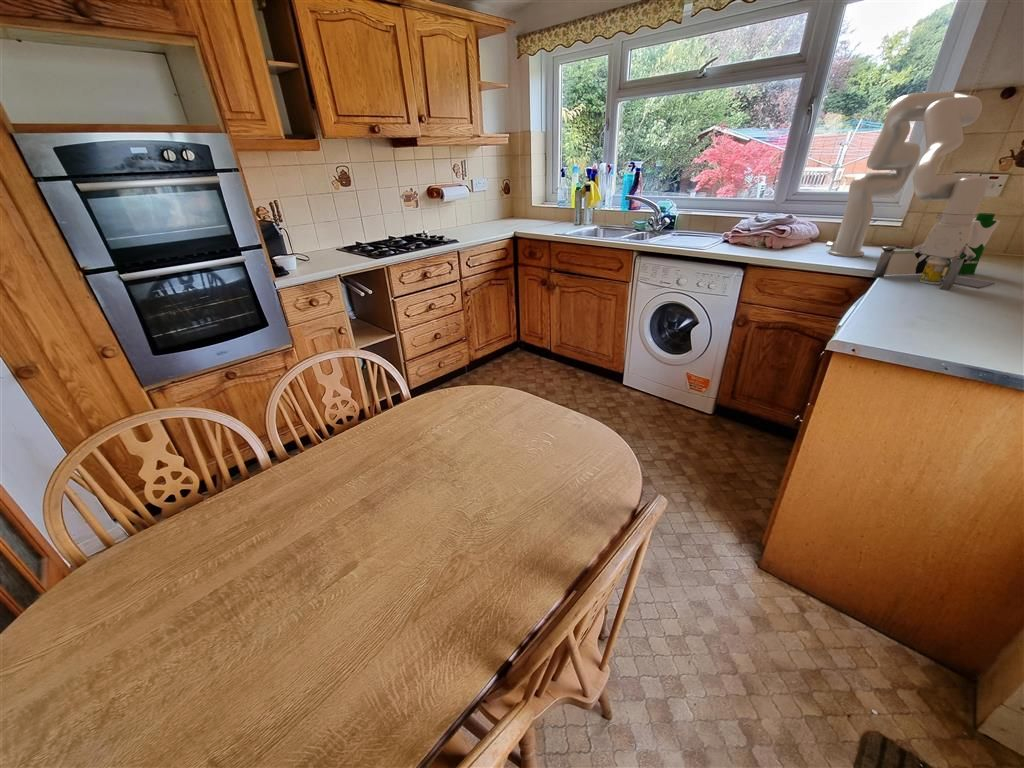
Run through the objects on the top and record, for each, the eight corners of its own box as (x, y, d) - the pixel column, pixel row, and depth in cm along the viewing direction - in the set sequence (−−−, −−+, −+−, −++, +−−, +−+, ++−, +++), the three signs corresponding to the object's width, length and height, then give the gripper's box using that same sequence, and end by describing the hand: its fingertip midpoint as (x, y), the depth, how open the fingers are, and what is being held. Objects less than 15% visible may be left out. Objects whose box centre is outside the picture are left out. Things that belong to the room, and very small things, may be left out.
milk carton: (951, 275, 152) (978, 215, 142) (931, 269, 160) (956, 211, 150) (978, 275, 151) (1007, 214, 142) (957, 269, 159) (983, 211, 149)
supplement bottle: (943, 285, 142) (956, 255, 138) (922, 283, 144) (934, 254, 140) (936, 281, 146) (949, 252, 142) (917, 279, 148) (928, 251, 144)
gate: (887, 275, 152) (897, 251, 148) (882, 274, 154) (891, 250, 150) (934, 274, 152) (944, 250, 148) (928, 272, 154) (938, 248, 150)
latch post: (935, 288, 139) (948, 258, 135) (940, 287, 140) (953, 257, 135) (945, 290, 137) (959, 260, 132) (950, 289, 138) (964, 259, 133)
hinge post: (869, 275, 155) (879, 246, 150) (875, 274, 156) (886, 245, 151) (881, 278, 152) (891, 248, 147) (887, 276, 153) (898, 247, 148)
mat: (940, 281, 146) (940, 280, 146) (956, 277, 149) (956, 276, 149) (978, 288, 138) (978, 287, 138) (994, 283, 141) (995, 282, 141)
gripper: (917, 217, 142) (896, 271, 150) (986, 223, 127) (959, 283, 136) (930, 216, 144) (909, 269, 153) (999, 221, 130) (971, 279, 138)
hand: (932, 275), depth 144 cm, fingers open, 7 cm apart
